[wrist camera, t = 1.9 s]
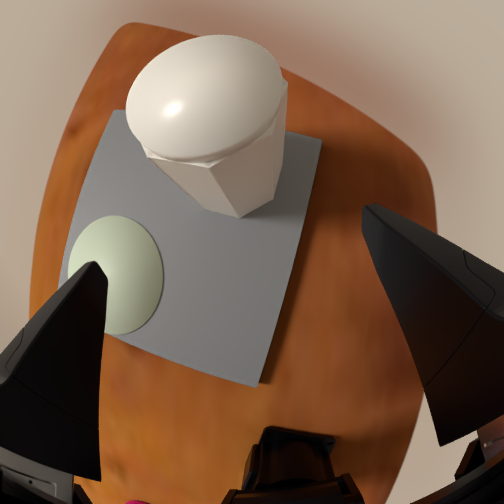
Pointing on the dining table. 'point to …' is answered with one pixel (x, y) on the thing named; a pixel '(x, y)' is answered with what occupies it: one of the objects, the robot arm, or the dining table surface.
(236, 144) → the salt shaker
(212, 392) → the dining table surface
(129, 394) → the dining table surface
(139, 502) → the pepper mill
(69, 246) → the board
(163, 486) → the dining table surface
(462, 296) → the robot arm
